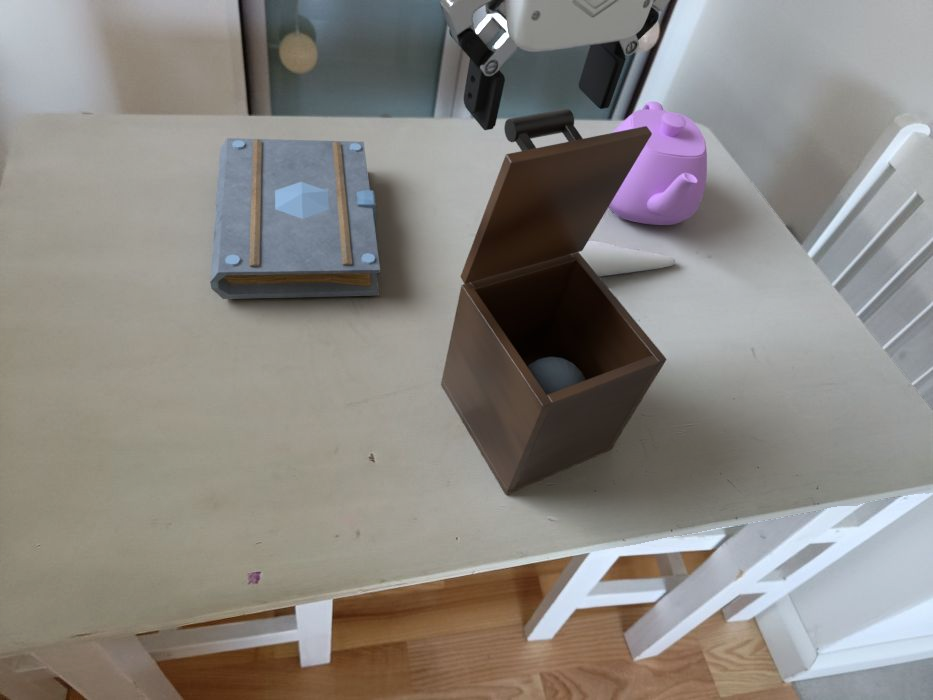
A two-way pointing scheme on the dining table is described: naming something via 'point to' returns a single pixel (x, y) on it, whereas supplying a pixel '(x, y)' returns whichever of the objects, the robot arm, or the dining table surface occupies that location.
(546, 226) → the lid
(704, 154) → the teapot
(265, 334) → the dining table surface
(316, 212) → the book
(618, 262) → the long cone
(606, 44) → the robot arm
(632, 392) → the chest
